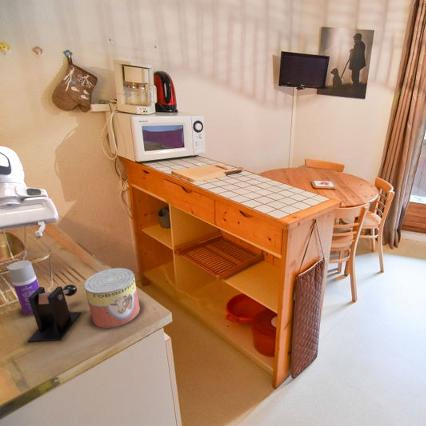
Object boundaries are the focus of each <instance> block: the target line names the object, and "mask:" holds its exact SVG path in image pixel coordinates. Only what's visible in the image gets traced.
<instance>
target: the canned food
mask: <svg viewBox="0 0 426 426" xmlns="http://www.w3.org/2000/svg"><path fill="white" fill-rule="evenodd" d="M83 288H84V290H85V294H86V299H87V302H88V306H89V310H90V314H91V318H92V321H93V325H95V326H96V327H99V328H103V329H108V328H116V327H120V326H123V325H125V324H127V323H129V322H131V321H133V319H134V318H136V317H137V316H138V314H139V312H140V310H141V307H140V301H139V296H138V290H137V284H136V279H135V273H134V272H133V271H132V270H131V269H129V268H126V267H125V268H124V267H114V268H113V267H112V268H108V269H104V270H101V271H98V272H96V273H95V274H92V275H91V276H89V277H88V278H87V279H86V280H85V281H84V284H83Z"/></svg>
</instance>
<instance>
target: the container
mask: <svg viewBox="0 0 426 426" xmlns="http://www.w3.org/2000/svg"><path fill="white" fill-rule="evenodd" d="M7 269H8V273H9V276H10V279H11V283H12V286H13V288H14V291H15V294H16V296H17V300H18V302H19V305H20V307H21V310H22V312H23V314H24V315H27V316H32V315H34V314H33V311H32V308H31V305H30V302H29V300H28V298H29V297H30V296H31V295H32V294H33V293H34V292H35V291H36V290H37V289H38V288H39V287H40V284H39V281H38V278H37V275H36V273H35V270H34V267H33V264H32V262H31V260H19V261H16V262H13V263H10V264H9V265H8V266H7Z"/></svg>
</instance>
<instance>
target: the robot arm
mask: <svg viewBox="0 0 426 426" xmlns="http://www.w3.org/2000/svg"><path fill="white" fill-rule="evenodd" d="M25 176H26V175H25V171H24V167H23V164H22V162H21V159H20V157H19V156H18V154H17V153H16V152H15V151H14V150H13V149H11V148H9V147H7V146H4V145H3V146H2V145H0V232H2V231H8V230H16V229H21V228H22V229H23V228H27V227H34V226H38V227H39V228H38V230H36V231H34V235H35V238H36V239H43V238H44V235H43V232H44V231H45V229H46V225H47V224H53V223H54V224H55V223H57V222H58V221H59V219H60V217H59V213H58V210H57V207H56V206H55V203H54V202H53V200H52V199H51V198H50V197H49V193H48V192H47V191H46V189H44V188H39V187H37V188H36V187H28V186H27V184H26V183H25V178H26V177H25Z"/></svg>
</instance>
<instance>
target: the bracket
mask: <svg viewBox="0 0 426 426" xmlns="http://www.w3.org/2000/svg"><path fill="white" fill-rule="evenodd" d="M45 292H46V289H45V287H44V286H39V288H38V289H37V290H36V291H35V292H34V293H33V294H32V295H31V296H30V297H29V298H28V300H29V302H30V305H31V308H32V311H33V314H32V315H33V316H34V320H35V322H36V326H37V328H38V329H37V330H36V331H35V332H34V333H33V335H32V336H31V337H30V338H29V339H28V341H27V342H28V343H44V342H45V343H46V342H58V341H62V340H63V338H64V337H65V336H66V334H67V333H68V332H69V331H70V330H71V328H72V327H73V325H74V324H75V323H76V321H77V320H78V318H79V317H80V316H81V315H82V311H72V312H70V309H69V306H68V303H67V300H66V296H65V295H64V292H63V286H61V285H60V286H56V288H54V289H53V291H51V292H52V293H51V294H50V295H49V296H48V297H47V298H48V302H49V304H38V303H39V294H42V293H45Z"/></svg>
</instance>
